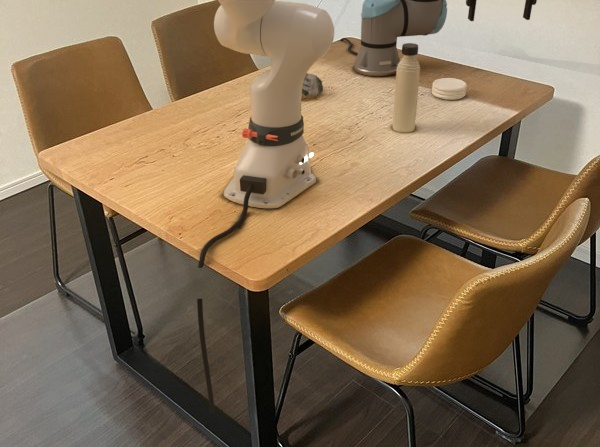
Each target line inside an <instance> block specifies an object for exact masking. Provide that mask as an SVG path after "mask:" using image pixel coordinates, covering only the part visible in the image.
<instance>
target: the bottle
mask: <svg viewBox="0 0 600 447" xmlns="http://www.w3.org/2000/svg"><path fill="white" fill-rule="evenodd" d="M420 76H421V65H420V63H419V61H418V58H417V56H416V55H413V56H408V55H404V54H403V56H402V58H401V59H400V62H399V64H398V66H397V71H396V74H395V85H394V86H395V88H394V99H393V100H394V101H393V114H392V130H394V131H395V132H398V133H411V132H413V131H415V129H416V119H417V111H418V110H417V109H418V98H419V88H420V78H421V77H420Z"/></svg>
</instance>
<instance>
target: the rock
mask: <svg viewBox="0 0 600 447" xmlns="http://www.w3.org/2000/svg"><path fill="white" fill-rule="evenodd" d="M323 92H324V85H323V80H322V79H321V78H319V77H318V76H317V75H316V74H313V73H309V72H307V74H306V76H305V78H304V81H303V86H302V99H308V98H313V97H316V98H318V97H319V96H320V95H321V94H322V93H323Z"/></svg>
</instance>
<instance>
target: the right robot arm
mask: <svg viewBox="0 0 600 447" xmlns="http://www.w3.org/2000/svg"><path fill="white" fill-rule="evenodd" d="M477 1H478V0H465V6H467V7H468V14H467V19H468V21H470V22H474V21H475V15H476V7H477ZM537 2H538V0H525V3H524V7H523V8H524V9H523V15H522V18H523V19H525V20H526V21H530V20H531V16H532V8H533V6H536V4H537ZM361 6H362V7H361V13H360V17H361V22H360V24H361V26H360V46H359V49H358V52H356V51H354V50H352V49H351V48H352V47H353V42H351V41H350V40H349V39H348V38H346V37H342V38H340V42H343V41H346V42H347V43H348V44H349V46H348V47H347V50H348V52H349V53H352V54H353V55H356V57H355V60H354V65H353V66H354V67H353V69H354V71H355V72H356V73H358V74H360V75H363V76H368V77H378V78H380V77H381V78H382V77H389V76H393V75H396V71H397V66H398V64H399V62H400V61H401V59H400V56H399V51H398V47H397V43H398V41H397V40H398V38H403V37H417V36H428V35H435V34H438V33H439V32H440V31H441V30H442V29H443V27H444V25H445V23H446V20H447V15H448V7H447V6H448V2H447V0H364V1H363V3H362V5H361Z"/></svg>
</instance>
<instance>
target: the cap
mask: <svg viewBox="0 0 600 447" xmlns="http://www.w3.org/2000/svg"><path fill="white" fill-rule="evenodd" d="M401 54H402V55H403V56H404V55H408V56H413V55H415V56H416V55H417V56H418V54H419V45H418V44H417V43H414V42H413V43H412V42H406V43H402V45H401Z"/></svg>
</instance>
